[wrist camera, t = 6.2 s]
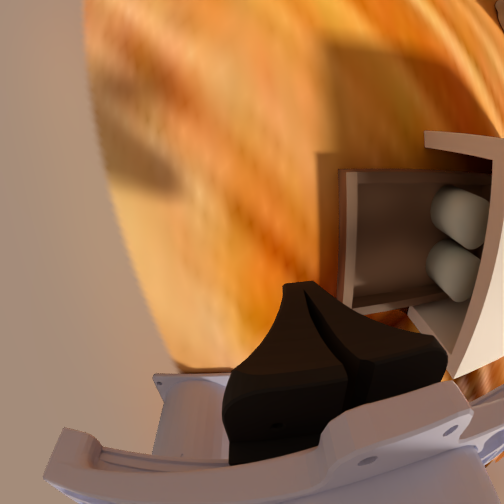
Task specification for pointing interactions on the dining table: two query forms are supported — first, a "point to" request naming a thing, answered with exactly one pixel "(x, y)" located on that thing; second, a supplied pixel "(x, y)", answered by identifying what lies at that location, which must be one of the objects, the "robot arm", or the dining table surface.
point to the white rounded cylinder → (453, 269)
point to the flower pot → (500, 11)
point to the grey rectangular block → (488, 279)
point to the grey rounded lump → (460, 215)
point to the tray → (393, 234)
